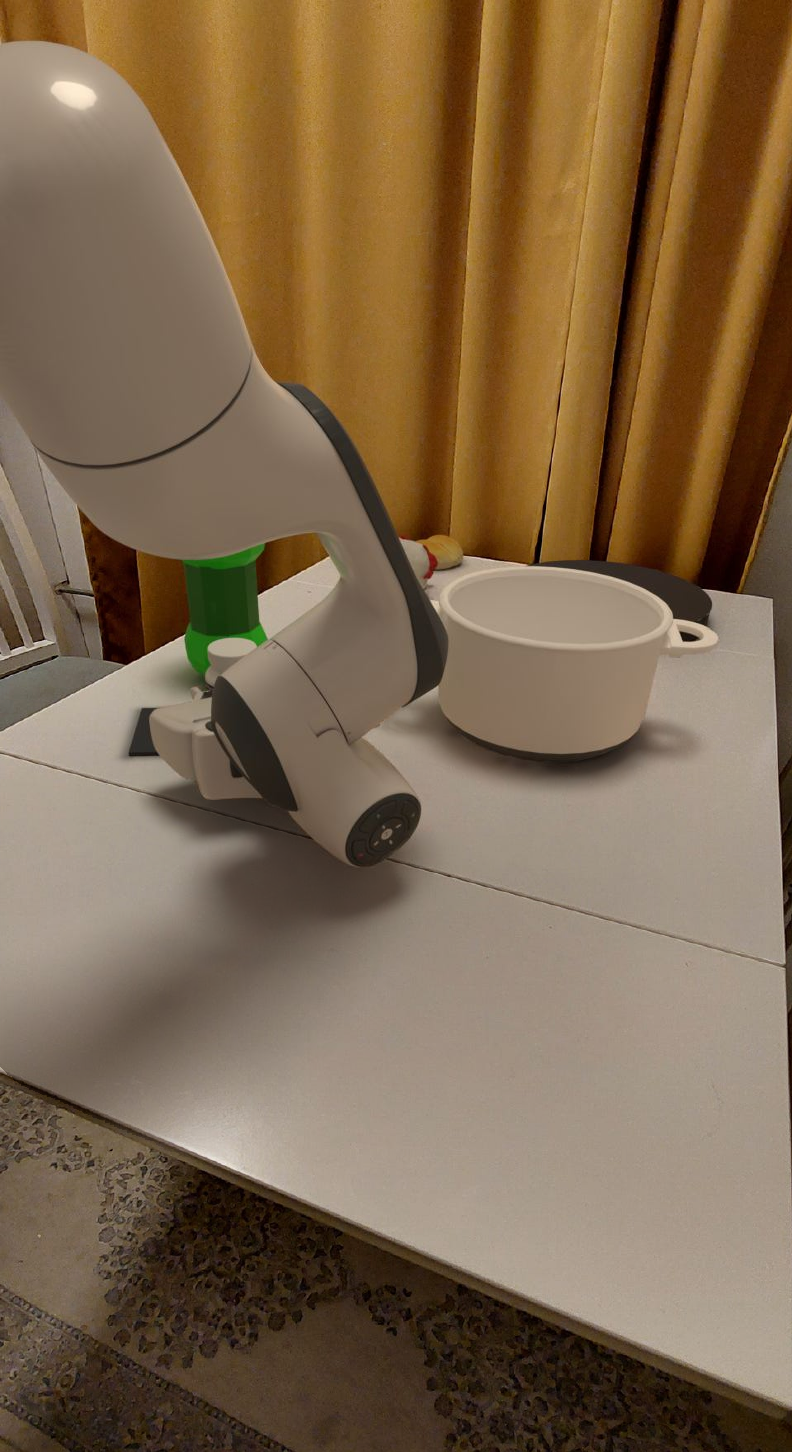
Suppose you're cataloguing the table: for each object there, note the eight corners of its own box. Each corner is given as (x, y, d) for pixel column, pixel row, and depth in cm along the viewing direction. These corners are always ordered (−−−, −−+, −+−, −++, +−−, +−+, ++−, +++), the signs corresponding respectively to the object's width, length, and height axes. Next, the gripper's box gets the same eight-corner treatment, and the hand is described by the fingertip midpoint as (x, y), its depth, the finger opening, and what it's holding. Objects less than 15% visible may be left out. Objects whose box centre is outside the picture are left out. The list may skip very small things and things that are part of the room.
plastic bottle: (169, 685, 97) (135, 446, 82) (215, 653, 105) (192, 429, 90) (246, 701, 94) (226, 457, 79) (287, 666, 102) (276, 439, 87)
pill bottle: (246, 722, 88) (239, 630, 82) (280, 741, 85) (275, 647, 79) (201, 738, 85) (189, 644, 79) (234, 759, 82) (225, 663, 76)
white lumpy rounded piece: (333, 596, 121) (393, 584, 132) (396, 614, 116) (453, 600, 127) (337, 530, 116) (399, 523, 127) (403, 545, 111) (462, 537, 122)
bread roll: (397, 561, 137) (398, 536, 135) (436, 552, 142) (437, 527, 140) (432, 574, 132) (434, 548, 130) (471, 564, 137) (473, 538, 135)
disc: (494, 642, 111) (496, 619, 109) (498, 572, 134) (500, 553, 133) (725, 660, 108) (732, 637, 107) (688, 585, 132) (693, 566, 130)
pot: (675, 692, 100) (705, 576, 92) (707, 794, 81) (748, 660, 73) (400, 669, 103) (404, 554, 94) (371, 762, 84) (373, 630, 76)
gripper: (396, 688, 76) (325, 637, 85) (178, 738, 67) (125, 675, 76) (394, 750, 80) (326, 695, 89) (187, 805, 71) (136, 737, 80)
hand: (232, 686), depth 82 cm, fingers closed on pill bottle, 6 cm apart
